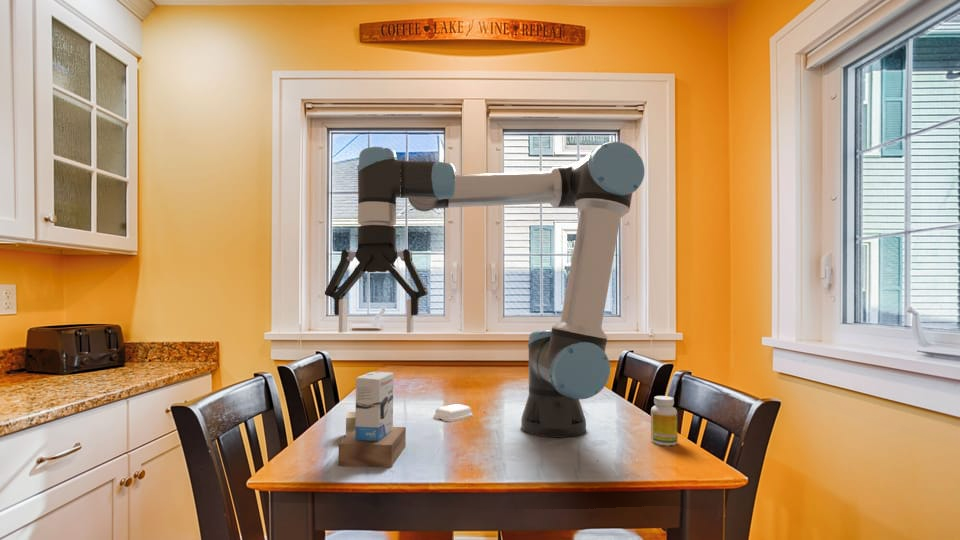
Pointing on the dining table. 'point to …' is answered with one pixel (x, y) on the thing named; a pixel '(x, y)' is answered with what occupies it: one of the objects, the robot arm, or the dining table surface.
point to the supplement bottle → (664, 421)
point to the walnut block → (372, 449)
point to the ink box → (374, 406)
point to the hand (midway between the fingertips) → (376, 332)
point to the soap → (453, 412)
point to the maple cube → (350, 422)
